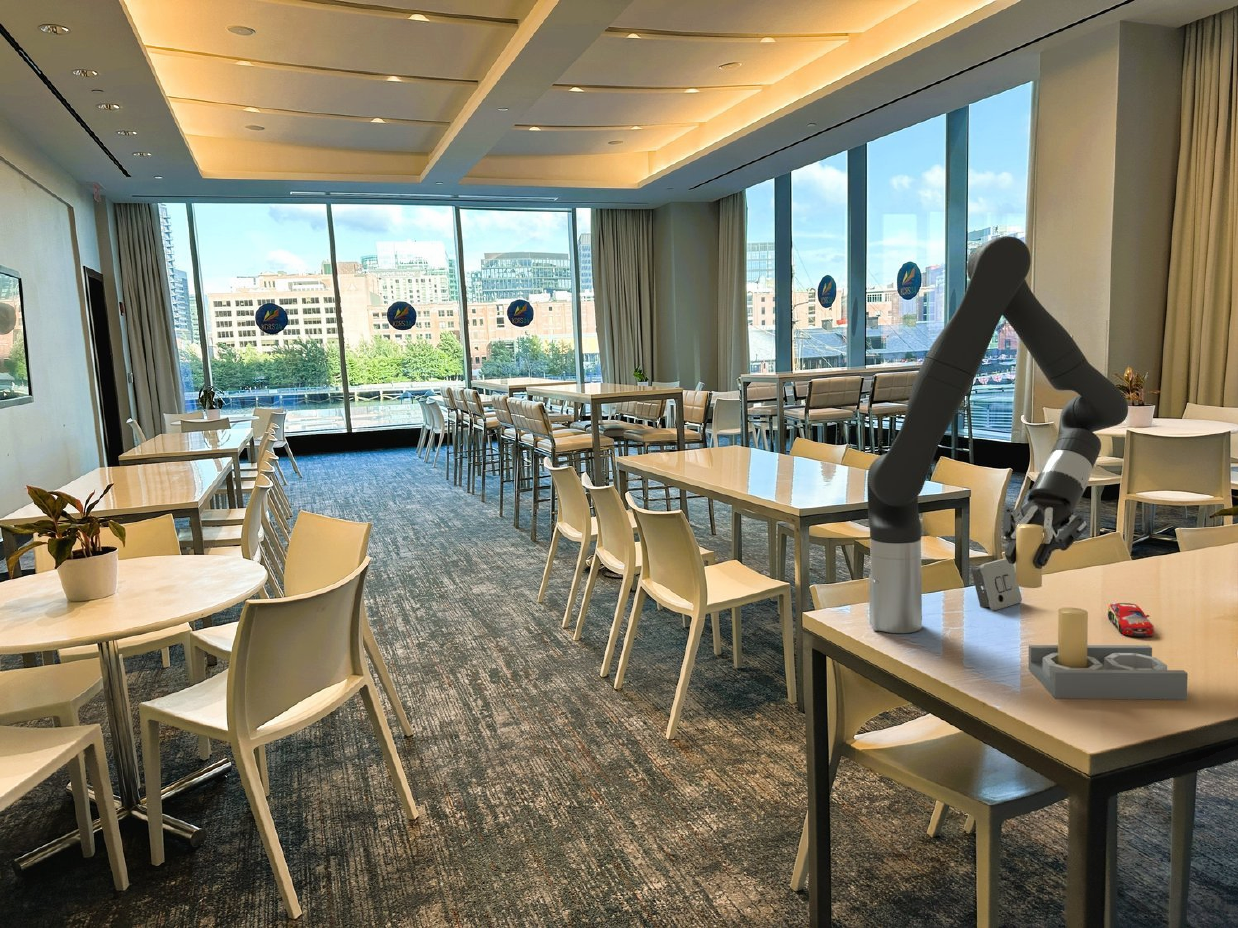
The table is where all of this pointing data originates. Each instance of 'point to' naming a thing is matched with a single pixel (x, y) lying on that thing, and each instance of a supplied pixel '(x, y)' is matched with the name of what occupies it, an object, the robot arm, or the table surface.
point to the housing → (1101, 666)
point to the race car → (1130, 619)
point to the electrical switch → (996, 584)
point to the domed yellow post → (1028, 555)
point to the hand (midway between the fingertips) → (1023, 563)
